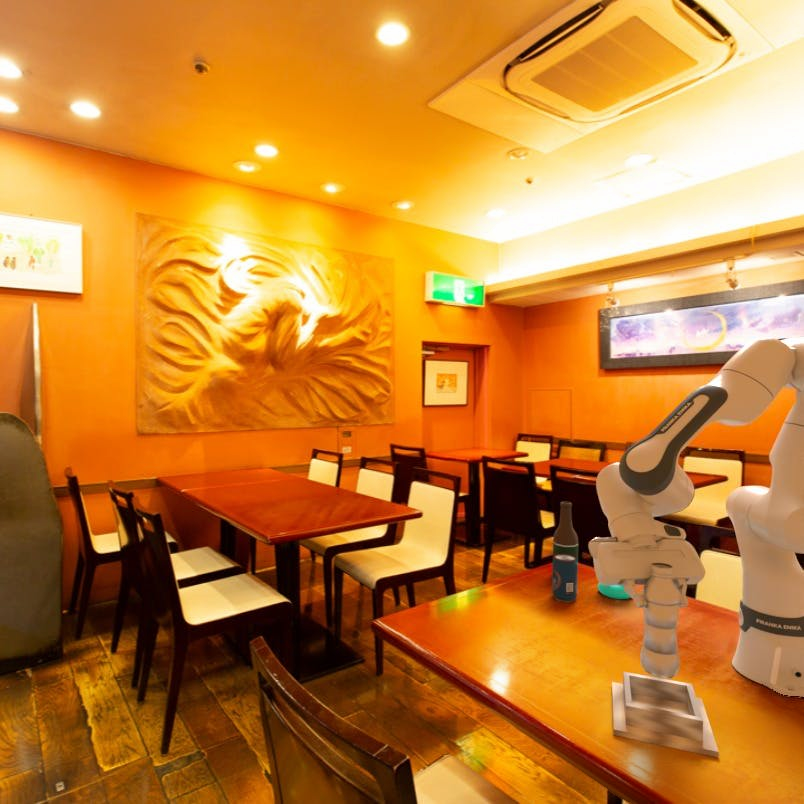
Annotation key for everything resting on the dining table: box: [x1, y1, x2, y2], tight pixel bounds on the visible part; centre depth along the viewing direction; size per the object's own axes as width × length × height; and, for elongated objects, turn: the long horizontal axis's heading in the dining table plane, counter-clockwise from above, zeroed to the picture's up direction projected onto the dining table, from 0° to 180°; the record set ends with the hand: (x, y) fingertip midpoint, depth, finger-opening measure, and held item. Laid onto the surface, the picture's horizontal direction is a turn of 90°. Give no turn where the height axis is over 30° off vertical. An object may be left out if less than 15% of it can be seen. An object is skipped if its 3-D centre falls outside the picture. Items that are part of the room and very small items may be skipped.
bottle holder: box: [611, 671, 720, 758], centre depth 97 cm, size 16×16×4 cm
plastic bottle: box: [639, 562, 681, 680], centre depth 96 cm, size 6×7×20 cm
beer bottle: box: [552, 501, 579, 577], centre depth 170 cm, size 8×8×24 cm
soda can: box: [551, 554, 579, 603], centre depth 152 cm, size 7×7×12 cm
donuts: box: [597, 582, 631, 600], centre depth 156 cm, size 10×10×10 cm
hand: (662, 606), depth 96 cm, fingers closed on plastic bottle, 6 cm apart
